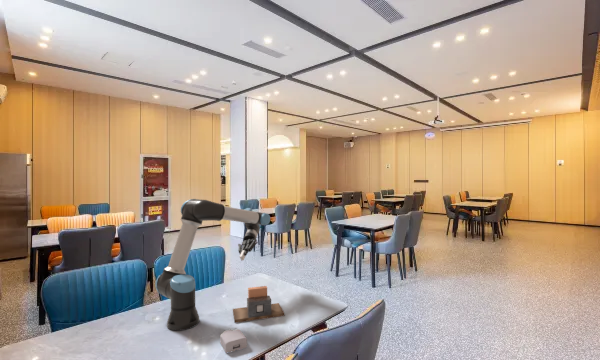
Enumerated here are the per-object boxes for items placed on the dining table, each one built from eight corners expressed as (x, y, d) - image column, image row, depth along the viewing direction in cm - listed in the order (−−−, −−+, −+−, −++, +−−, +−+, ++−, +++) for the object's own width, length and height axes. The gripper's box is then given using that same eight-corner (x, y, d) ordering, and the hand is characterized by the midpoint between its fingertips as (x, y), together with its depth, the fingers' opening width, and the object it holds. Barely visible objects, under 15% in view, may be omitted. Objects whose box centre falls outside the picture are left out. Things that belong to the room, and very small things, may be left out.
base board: (234, 322, 156) (234, 319, 156) (232, 311, 169) (232, 308, 169) (284, 315, 163) (284, 313, 163) (278, 305, 177) (278, 303, 177)
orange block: (250, 316, 158) (250, 293, 158) (248, 309, 167) (248, 287, 167) (269, 314, 161) (269, 291, 161) (266, 307, 170) (266, 285, 170)
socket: (248, 317, 158) (248, 302, 158) (247, 313, 164) (246, 298, 164) (271, 314, 161) (271, 299, 161) (269, 310, 167) (269, 295, 167)
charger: (236, 333, 146) (246, 348, 133) (216, 338, 141) (225, 354, 128) (236, 323, 146) (246, 337, 133) (216, 328, 141) (225, 342, 128)
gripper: (261, 239, 199) (254, 260, 177) (243, 244, 201) (233, 266, 179) (257, 229, 197) (249, 250, 174) (239, 235, 199) (228, 255, 177)
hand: (241, 258), depth 177 cm, fingers closed
